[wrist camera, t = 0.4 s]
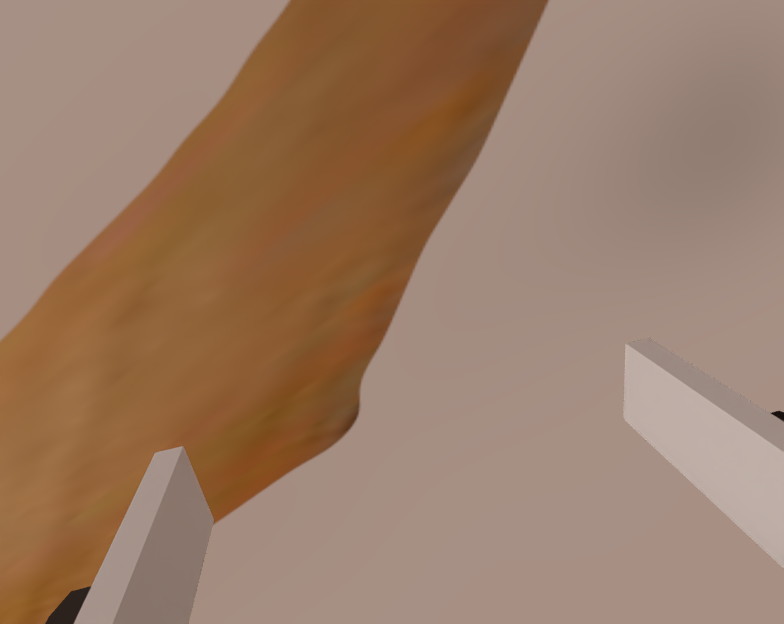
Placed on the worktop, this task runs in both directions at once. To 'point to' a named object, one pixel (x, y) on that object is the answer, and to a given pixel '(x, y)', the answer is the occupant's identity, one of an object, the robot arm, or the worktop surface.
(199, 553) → the robot arm
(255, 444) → the worktop surface
